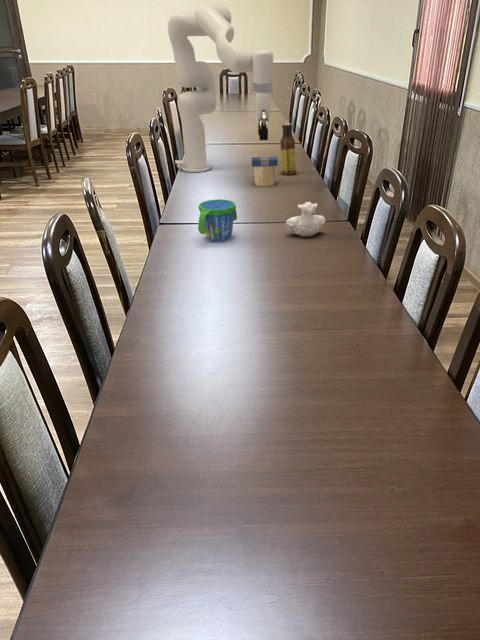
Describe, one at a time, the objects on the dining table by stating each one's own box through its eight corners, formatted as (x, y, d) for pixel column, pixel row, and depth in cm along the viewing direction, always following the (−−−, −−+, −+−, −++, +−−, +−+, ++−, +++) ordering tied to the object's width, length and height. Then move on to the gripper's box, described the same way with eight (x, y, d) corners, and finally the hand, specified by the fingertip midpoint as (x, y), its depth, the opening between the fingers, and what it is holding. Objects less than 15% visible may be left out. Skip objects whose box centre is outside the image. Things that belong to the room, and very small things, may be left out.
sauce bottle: (296, 172, 233) (296, 122, 223) (295, 175, 227) (295, 125, 217) (281, 172, 233) (280, 122, 223) (279, 175, 228) (279, 125, 218)
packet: (252, 166, 209) (251, 160, 208) (251, 163, 214) (251, 157, 212) (277, 166, 209) (277, 159, 208) (276, 163, 214) (276, 156, 213)
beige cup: (255, 186, 212) (254, 167, 208) (254, 182, 219) (253, 163, 215) (275, 186, 212) (275, 166, 208) (273, 181, 219) (273, 162, 215)
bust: (286, 243, 161) (292, 221, 150) (282, 222, 163) (287, 199, 153) (325, 240, 163) (333, 218, 152) (320, 219, 165) (328, 196, 155)
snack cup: (213, 249, 152) (210, 213, 146) (187, 241, 158) (184, 207, 152) (249, 234, 162) (248, 201, 157) (224, 228, 168) (222, 195, 163)
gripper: (251, 86, 205) (252, 133, 214) (253, 91, 190) (254, 142, 199) (271, 86, 205) (271, 133, 214) (274, 91, 190) (274, 141, 199)
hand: (263, 137), depth 207 cm, fingers open, 9 cm apart
